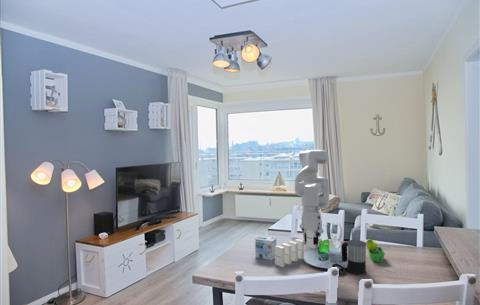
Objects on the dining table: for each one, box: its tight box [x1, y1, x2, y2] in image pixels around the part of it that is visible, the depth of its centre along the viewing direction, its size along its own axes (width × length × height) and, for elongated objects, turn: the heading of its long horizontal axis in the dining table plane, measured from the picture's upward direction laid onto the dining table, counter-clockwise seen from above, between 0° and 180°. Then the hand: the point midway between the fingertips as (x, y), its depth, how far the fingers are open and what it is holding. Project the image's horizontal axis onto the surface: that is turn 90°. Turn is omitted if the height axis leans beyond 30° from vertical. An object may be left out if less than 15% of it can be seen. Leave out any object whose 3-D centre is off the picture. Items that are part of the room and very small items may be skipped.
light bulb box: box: [254, 235, 277, 261], centre depth 191 cm, size 11×7×11 cm, turn 62°
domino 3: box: [287, 240, 299, 263], centre depth 185 cm, size 2×5×10 cm, turn 42°
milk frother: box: [331, 239, 367, 276], centre depth 168 cm, size 14×16×15 cm
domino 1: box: [274, 244, 286, 268], centre depth 178 cm, size 2×5×10 cm, turn 42°
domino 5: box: [305, 230, 317, 249], centre depth 175 cm, size 2×5×10 cm, turn 42°
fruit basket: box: [365, 238, 386, 263], centre depth 186 cm, size 11×9×11 cm
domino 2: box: [281, 242, 292, 265], centre depth 182 cm, size 2×5×10 cm, turn 42°
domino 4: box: [294, 238, 305, 260], centre depth 189 cm, size 2×5×10 cm, turn 42°
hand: (311, 242), depth 175 cm, fingers closed on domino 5, 4 cm apart
